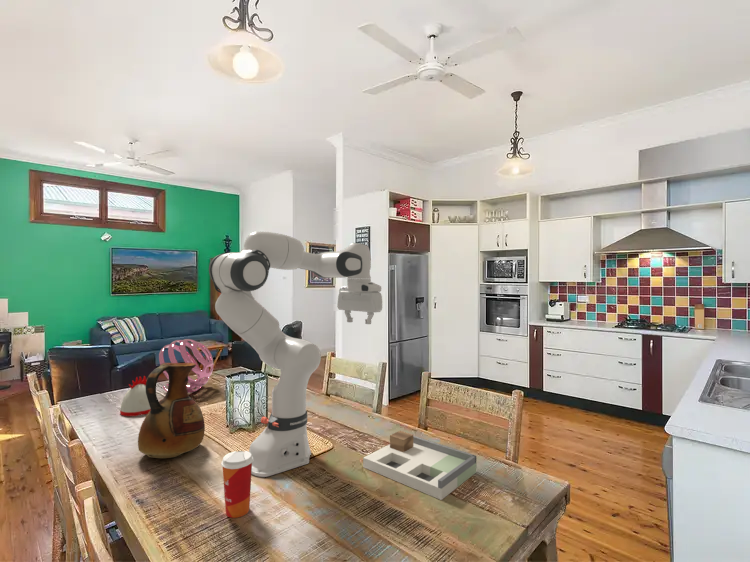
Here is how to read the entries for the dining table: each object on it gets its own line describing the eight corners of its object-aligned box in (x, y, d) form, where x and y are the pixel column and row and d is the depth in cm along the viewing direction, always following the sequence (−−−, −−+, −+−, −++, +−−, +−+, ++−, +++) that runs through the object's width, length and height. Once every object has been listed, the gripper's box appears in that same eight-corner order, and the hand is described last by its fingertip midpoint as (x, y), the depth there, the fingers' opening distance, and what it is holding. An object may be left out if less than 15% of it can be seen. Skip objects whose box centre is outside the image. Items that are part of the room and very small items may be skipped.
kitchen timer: (163, 409, 179) (162, 375, 179) (130, 418, 168) (130, 382, 168) (146, 403, 187) (146, 371, 187) (114, 412, 175) (113, 378, 175)
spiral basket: (131, 357, 197) (177, 325, 197) (168, 359, 224) (209, 332, 224) (153, 407, 189) (201, 375, 189) (189, 403, 216) (231, 375, 216)
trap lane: (441, 500, 107) (441, 481, 107) (363, 467, 125) (363, 451, 125) (476, 472, 122) (476, 455, 122) (402, 446, 140) (402, 432, 140)
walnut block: (403, 452, 128) (403, 439, 128) (389, 447, 132) (389, 435, 132) (413, 446, 133) (413, 434, 133) (400, 442, 136) (400, 430, 136)
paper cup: (226, 503, 105) (226, 450, 105) (256, 502, 106) (256, 449, 105) (217, 521, 97) (216, 464, 97) (249, 520, 98) (249, 462, 98)
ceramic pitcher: (217, 445, 141) (216, 360, 140) (165, 470, 123) (165, 372, 122) (178, 436, 149) (177, 355, 149) (124, 458, 131) (123, 366, 130)
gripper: (333, 286, 156) (333, 321, 156) (373, 287, 143) (373, 326, 143) (345, 285, 161) (345, 320, 161) (385, 286, 148) (384, 324, 148)
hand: (358, 323), depth 152 cm, fingers open, 8 cm apart
